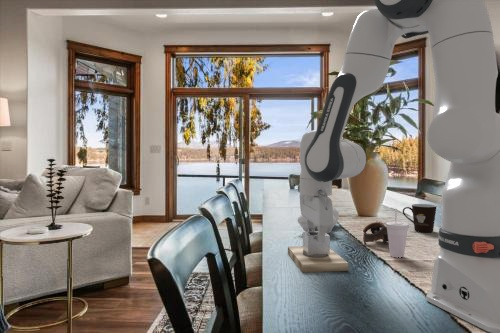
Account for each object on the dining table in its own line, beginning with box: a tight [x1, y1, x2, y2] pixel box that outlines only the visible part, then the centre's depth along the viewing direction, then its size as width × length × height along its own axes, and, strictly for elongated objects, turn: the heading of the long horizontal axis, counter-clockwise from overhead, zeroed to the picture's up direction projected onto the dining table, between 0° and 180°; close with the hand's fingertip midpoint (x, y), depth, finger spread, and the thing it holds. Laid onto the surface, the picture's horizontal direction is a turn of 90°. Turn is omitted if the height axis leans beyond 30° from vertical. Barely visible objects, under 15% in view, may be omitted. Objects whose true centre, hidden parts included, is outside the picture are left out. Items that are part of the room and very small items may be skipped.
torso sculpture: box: [297, 206, 340, 235], centre depth 144 cm, size 16×11×30 cm
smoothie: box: [385, 208, 410, 259], centre depth 107 cm, size 6×6×14 cm
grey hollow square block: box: [302, 230, 331, 255], centre depth 102 cm, size 6×6×5 cm
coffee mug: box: [402, 203, 438, 234], centre depth 143 cm, size 12×9×10 cm
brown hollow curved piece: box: [362, 221, 389, 245], centre depth 123 cm, size 12×10×8 cm
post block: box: [287, 232, 349, 273], centre depth 102 cm, size 18×12×8 cm, turn 6°
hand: (315, 237), depth 102 cm, fingers open, 8 cm apart
